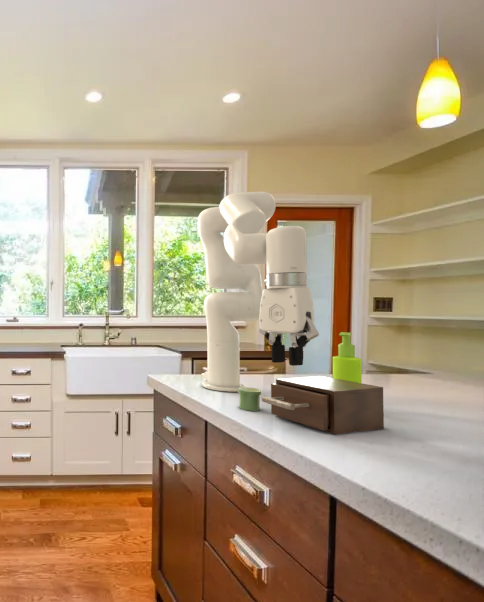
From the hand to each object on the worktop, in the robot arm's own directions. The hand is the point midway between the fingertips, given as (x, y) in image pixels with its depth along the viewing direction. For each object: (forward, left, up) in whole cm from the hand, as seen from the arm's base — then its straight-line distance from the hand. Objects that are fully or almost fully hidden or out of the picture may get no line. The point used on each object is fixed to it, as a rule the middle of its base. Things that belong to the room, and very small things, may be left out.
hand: (286, 362), depth 83 cm
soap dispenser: (-8, +30, -14) cm, 34 cm away
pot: (-14, +4, -14) cm, 20 cm away
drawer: (0, +6, -13) cm, 15 cm away
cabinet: (0, +12, -14) cm, 19 cm away
